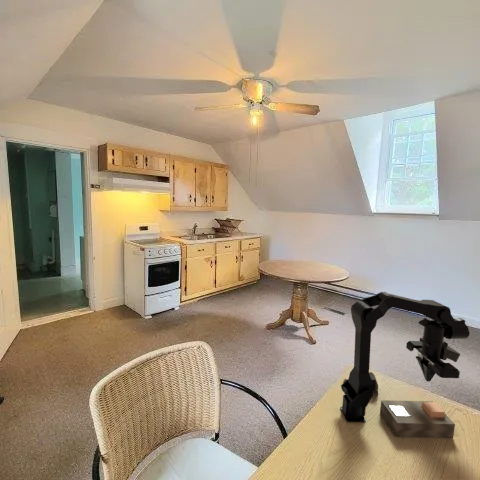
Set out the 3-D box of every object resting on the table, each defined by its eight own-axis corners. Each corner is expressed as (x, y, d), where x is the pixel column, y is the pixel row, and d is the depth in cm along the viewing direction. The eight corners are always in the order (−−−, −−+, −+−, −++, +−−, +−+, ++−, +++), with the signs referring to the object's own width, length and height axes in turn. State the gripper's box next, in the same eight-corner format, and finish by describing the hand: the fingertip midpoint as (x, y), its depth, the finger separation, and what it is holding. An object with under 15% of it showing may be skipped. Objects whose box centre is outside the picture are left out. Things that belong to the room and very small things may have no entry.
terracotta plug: (429, 425, 90) (431, 411, 89) (420, 415, 94) (422, 402, 94) (443, 425, 90) (445, 412, 89) (433, 415, 94) (435, 402, 94)
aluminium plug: (395, 429, 90) (396, 415, 90) (387, 418, 95) (389, 405, 94) (408, 429, 90) (410, 416, 90) (400, 419, 95) (402, 406, 94)
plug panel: (395, 437, 87) (397, 422, 87) (379, 413, 97) (381, 400, 97) (453, 438, 88) (455, 424, 87) (431, 414, 97) (433, 401, 97)
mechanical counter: (380, 390, 101) (382, 370, 110) (344, 376, 107) (348, 359, 115) (377, 404, 104) (378, 384, 112) (341, 390, 110) (345, 372, 118)
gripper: (480, 353, 86) (473, 400, 88) (437, 326, 104) (432, 365, 106) (444, 353, 85) (437, 399, 88) (407, 326, 104) (403, 365, 106)
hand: (427, 380), depth 97 cm, fingers closed
